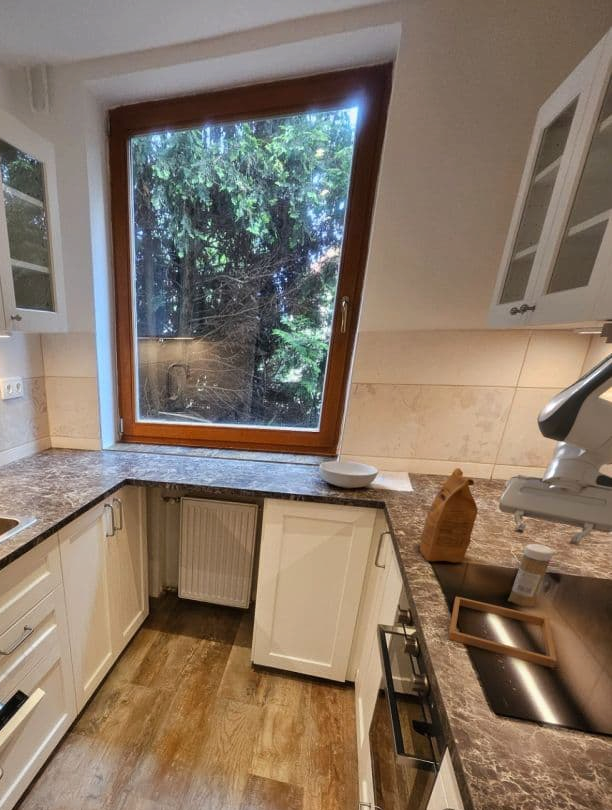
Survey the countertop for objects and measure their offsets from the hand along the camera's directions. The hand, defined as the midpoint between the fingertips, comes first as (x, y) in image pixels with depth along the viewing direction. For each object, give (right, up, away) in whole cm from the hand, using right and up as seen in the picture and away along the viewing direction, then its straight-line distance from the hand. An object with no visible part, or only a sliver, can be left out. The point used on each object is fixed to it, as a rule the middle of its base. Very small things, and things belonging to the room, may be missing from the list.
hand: (545, 537), depth 99 cm
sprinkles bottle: (-5, -15, +1) cm, 16 cm away
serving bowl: (-10, +23, +82) cm, 86 cm away
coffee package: (-8, -4, +24) cm, 25 cm away
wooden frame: (-17, -19, -10) cm, 27 cm away
